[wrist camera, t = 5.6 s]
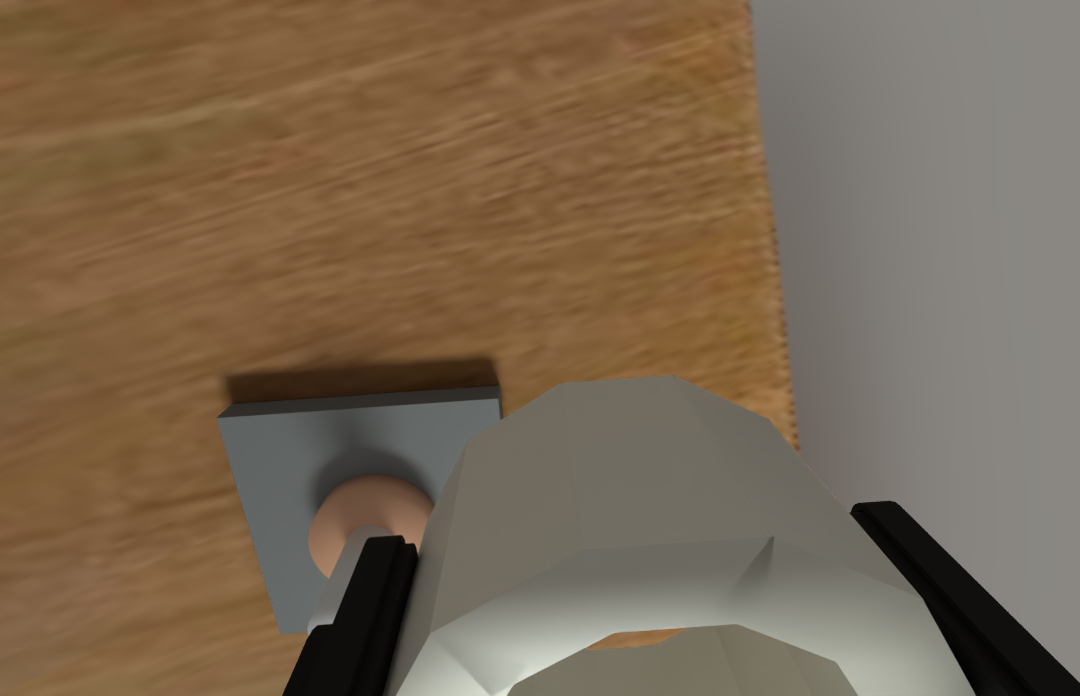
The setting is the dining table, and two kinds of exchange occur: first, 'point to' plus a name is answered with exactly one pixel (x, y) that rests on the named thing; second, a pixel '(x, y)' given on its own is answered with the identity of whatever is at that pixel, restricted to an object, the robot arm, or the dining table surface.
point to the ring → (654, 562)
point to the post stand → (342, 482)
